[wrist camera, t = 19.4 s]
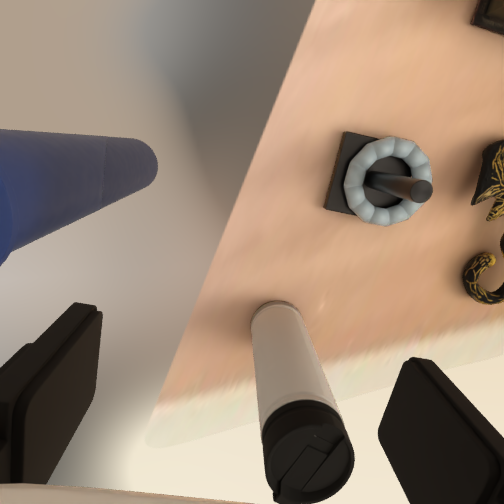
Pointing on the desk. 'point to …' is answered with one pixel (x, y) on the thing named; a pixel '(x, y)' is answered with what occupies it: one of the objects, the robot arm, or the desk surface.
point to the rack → (374, 179)
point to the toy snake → (489, 185)
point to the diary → (490, 15)
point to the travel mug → (296, 410)
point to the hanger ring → (361, 164)
